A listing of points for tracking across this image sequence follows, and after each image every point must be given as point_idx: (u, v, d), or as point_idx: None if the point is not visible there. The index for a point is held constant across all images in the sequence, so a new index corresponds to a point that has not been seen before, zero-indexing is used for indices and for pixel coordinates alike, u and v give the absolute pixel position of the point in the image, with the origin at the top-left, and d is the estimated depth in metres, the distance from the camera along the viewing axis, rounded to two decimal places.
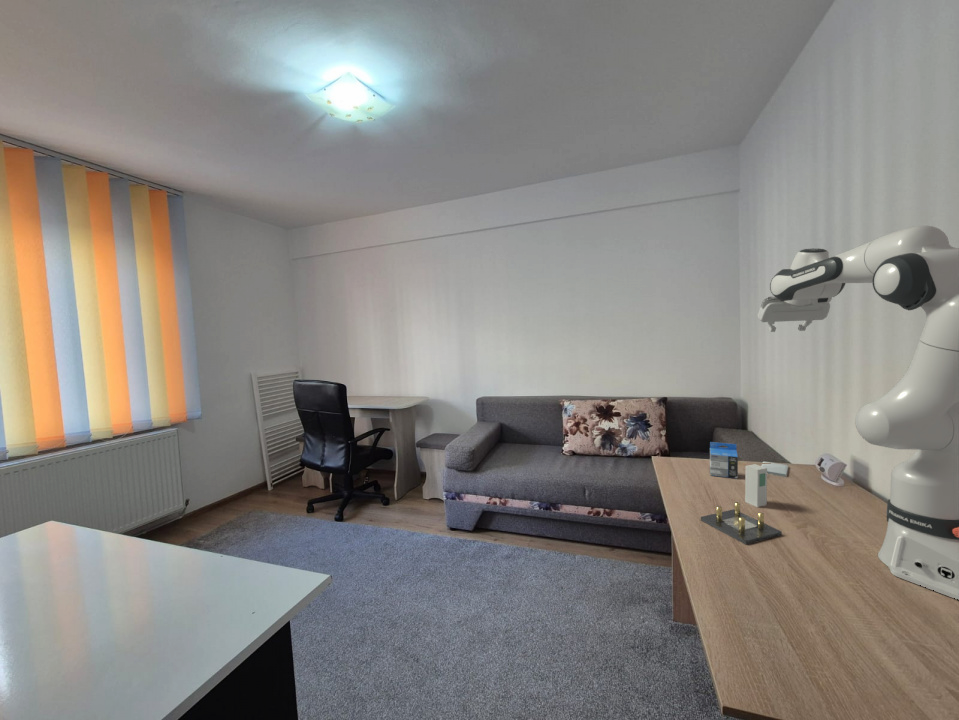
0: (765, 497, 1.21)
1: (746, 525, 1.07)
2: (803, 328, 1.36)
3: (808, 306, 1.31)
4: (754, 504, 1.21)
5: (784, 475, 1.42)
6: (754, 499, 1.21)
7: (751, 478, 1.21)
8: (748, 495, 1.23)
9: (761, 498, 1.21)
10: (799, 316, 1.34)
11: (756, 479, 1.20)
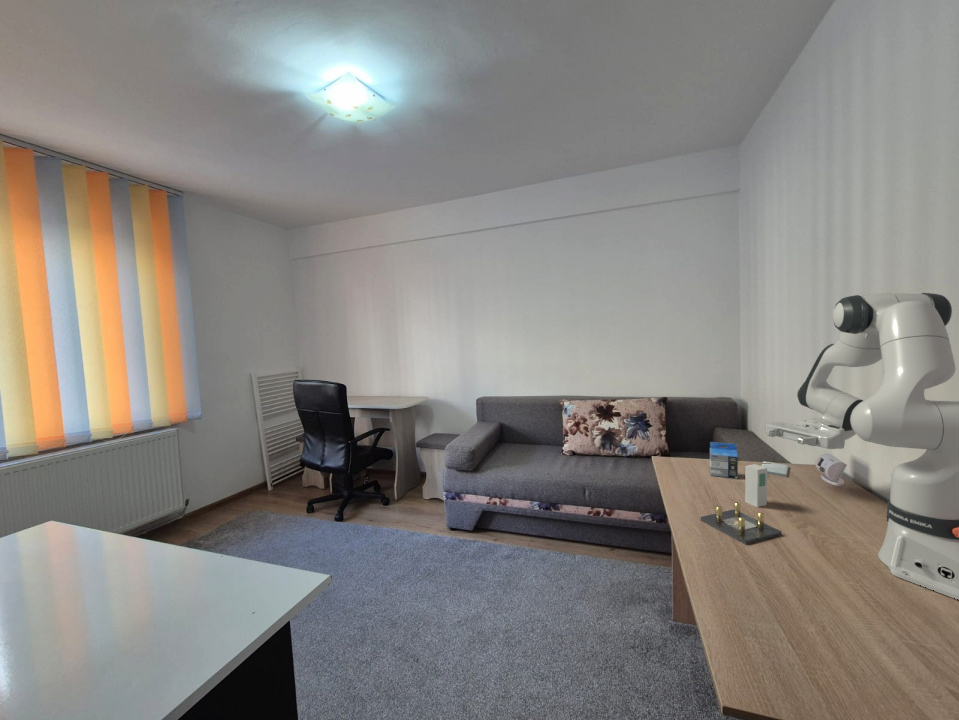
0: (765, 497, 1.21)
1: (746, 525, 1.07)
2: (802, 438, 1.21)
3: (817, 430, 1.24)
4: (754, 504, 1.21)
5: (784, 475, 1.42)
6: (754, 499, 1.21)
7: (751, 478, 1.21)
8: (748, 495, 1.23)
9: (761, 498, 1.21)
10: (803, 430, 1.25)
11: (756, 479, 1.20)
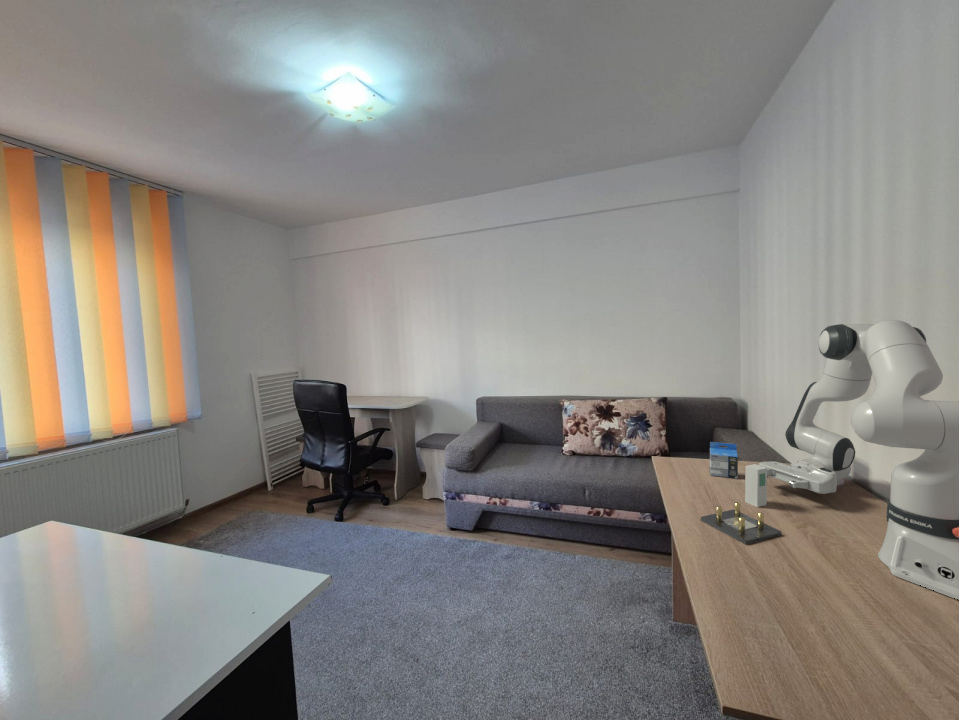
0: (765, 497, 1.21)
1: (746, 525, 1.07)
2: (794, 481, 1.20)
3: (809, 473, 1.24)
4: (754, 504, 1.21)
5: None
6: (754, 499, 1.21)
7: (751, 478, 1.21)
8: (748, 495, 1.23)
9: (761, 498, 1.21)
10: (796, 472, 1.25)
11: (756, 479, 1.20)
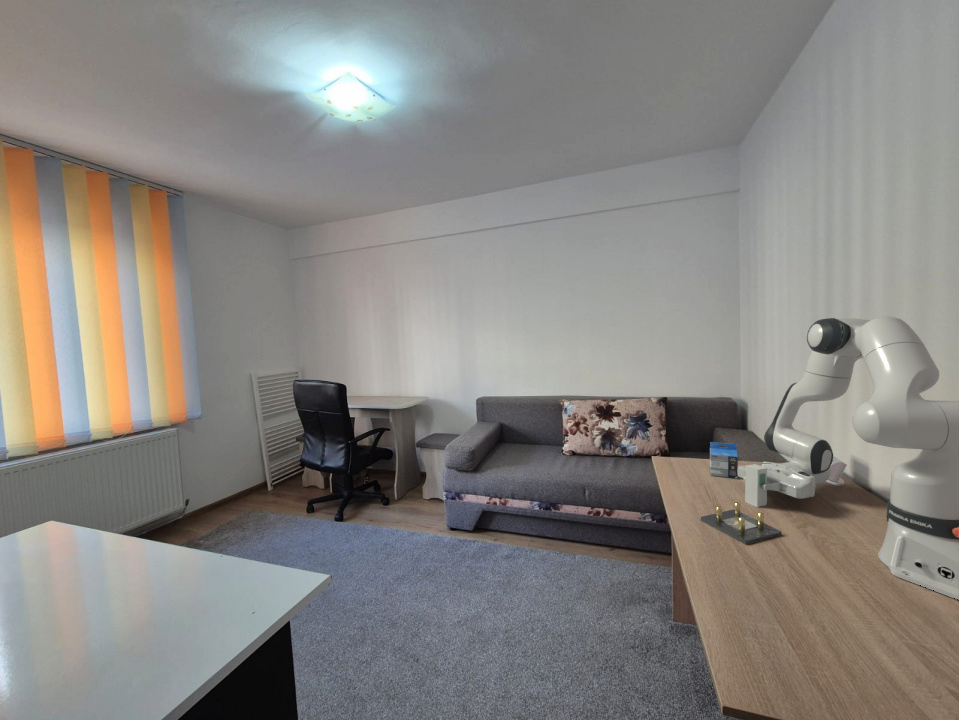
0: (765, 497, 1.21)
1: (746, 525, 1.07)
2: (765, 483, 1.20)
3: (788, 477, 1.22)
4: (754, 504, 1.21)
5: None
6: (754, 499, 1.21)
7: (751, 478, 1.21)
8: (748, 495, 1.23)
9: (761, 498, 1.21)
10: (774, 476, 1.22)
11: (756, 479, 1.20)
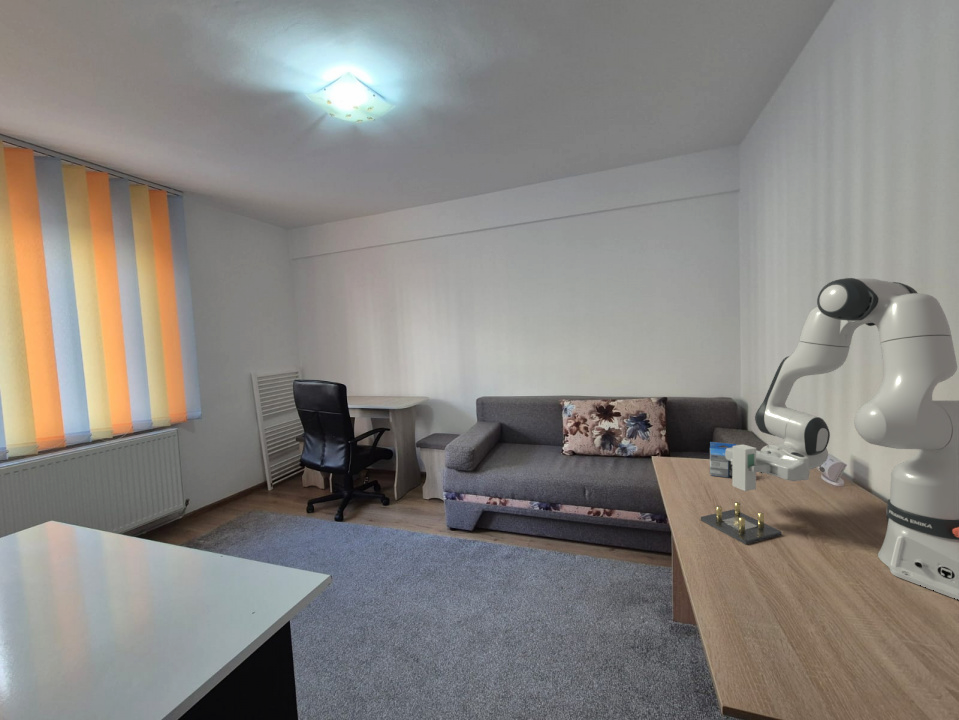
0: (754, 480, 1.10)
1: (746, 525, 1.07)
2: (753, 465, 1.08)
3: (779, 458, 1.10)
4: (742, 488, 1.10)
5: None
6: (741, 483, 1.10)
7: (739, 459, 1.10)
8: (735, 478, 1.11)
9: (750, 481, 1.09)
10: (764, 458, 1.11)
11: (744, 460, 1.09)
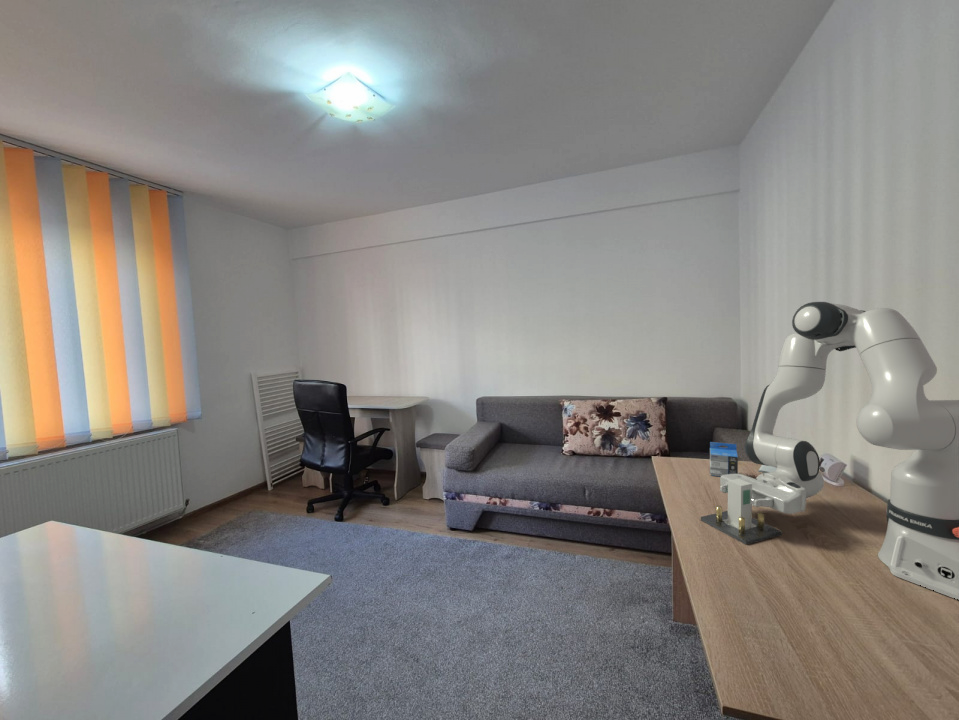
0: (750, 516, 1.07)
1: None
2: (756, 499, 1.04)
3: (775, 488, 1.08)
4: (737, 525, 1.07)
5: None
6: (737, 519, 1.07)
7: (734, 495, 1.08)
8: (731, 514, 1.09)
9: (746, 518, 1.07)
10: (760, 488, 1.08)
11: (739, 496, 1.06)
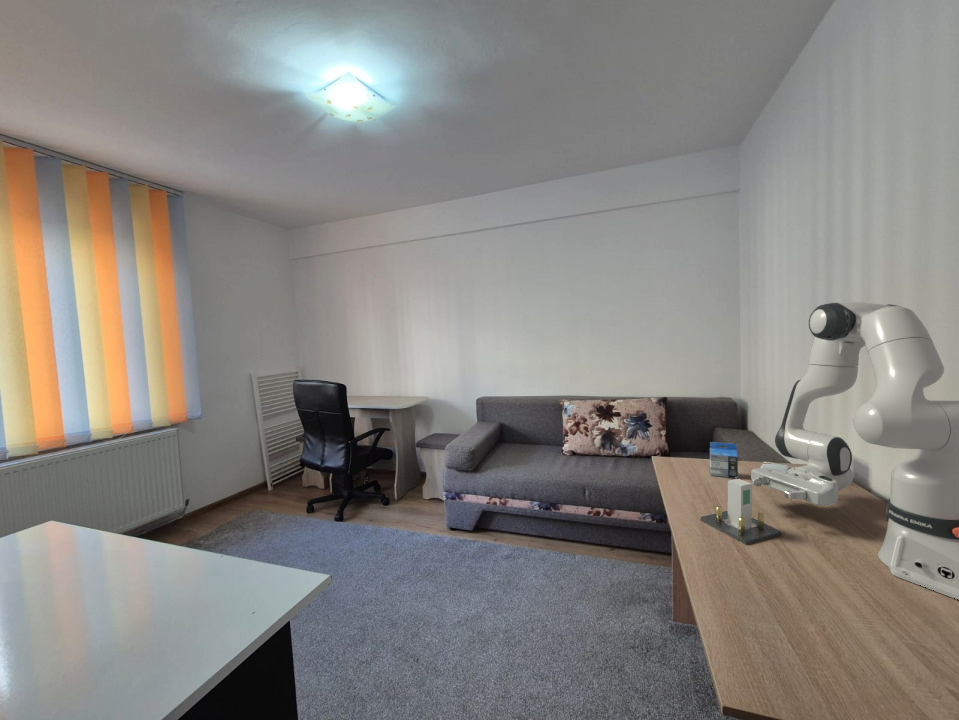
0: (750, 516, 1.07)
1: None
2: (790, 491, 1.07)
3: (807, 481, 1.11)
4: (737, 525, 1.07)
5: None
6: (737, 519, 1.07)
7: (734, 495, 1.08)
8: (731, 514, 1.09)
9: (746, 518, 1.07)
10: (792, 481, 1.12)
11: (739, 496, 1.06)
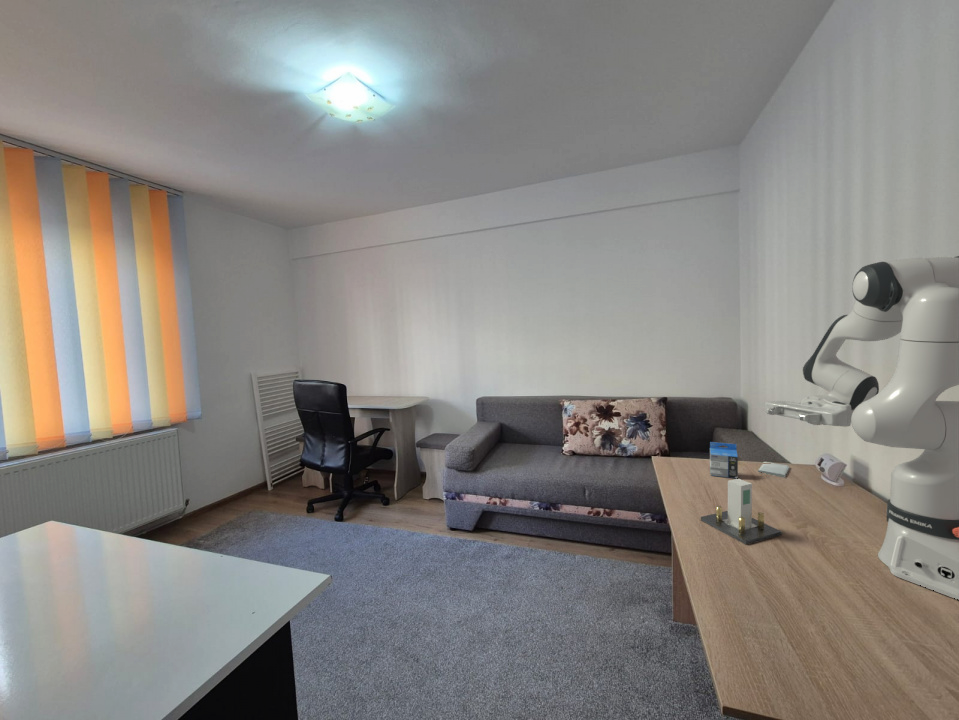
0: (750, 516, 1.07)
1: None
2: (804, 414, 1.10)
3: (821, 407, 1.14)
4: (737, 525, 1.07)
5: (782, 475, 1.42)
6: (737, 519, 1.07)
7: (734, 495, 1.08)
8: (731, 514, 1.09)
9: (746, 518, 1.07)
10: (806, 407, 1.15)
11: (739, 496, 1.06)
